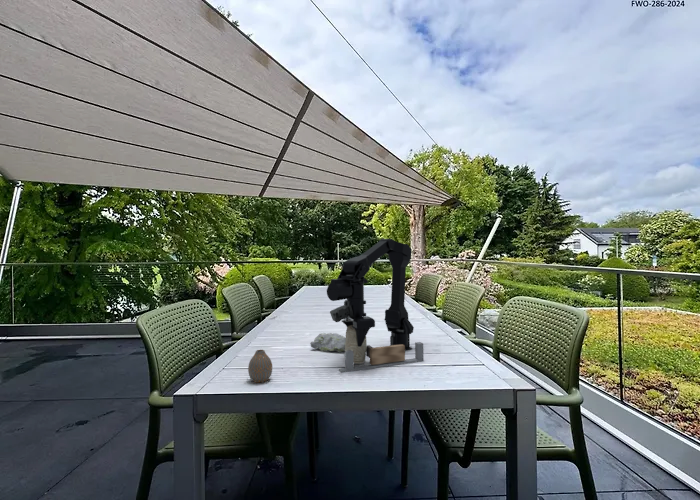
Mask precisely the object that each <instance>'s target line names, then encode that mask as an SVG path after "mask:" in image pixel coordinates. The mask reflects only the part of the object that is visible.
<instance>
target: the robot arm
mask: <svg viewBox="0 0 700 500" xmlns="http://www.w3.org/2000/svg"><path fill="white" fill-rule="evenodd" d="M385 254H386V255H388V260H389V264H390V265H391V267H392V273H391V274H392V275H391V296H390V297H391V299H390V306H389V308H388V309H387V308H386V309H385V310H384V315H385V316H384V319H383V320H384V321H385V325H386V329H387V331H388V332H390V333H391V334H390V336H389V338H390V339H389V343H390V345H389V346H392V345H400V344H403V345H405V351H406V350H407V351H408V350H409V351H410V350H412V349H413V348H412V346H410V343H411V342H410V340H411V339H410V336H411V335H412V333H414V329H415V327H414V325H413V324H412V323H411V321H410V320H409V312H408V310H407V308H406V307H405V294H406V293H405V292H406V273H407V272H406V270H407V266H408V265H409V263H410V262H411V258H412V248H411V247H410V245H409V244H408V243H403V242H400V241H396V240H394V239H392V238H381V239H379V240H378V242H377V243H375V244H374V245H373V246H372V247H370V248H368V250H366V251H364V252H363V253H362V254H361V255H358V256H355V257H350V258H349V259H347V260H346V261H344V262H343V266H342V268H341V270H340V273H339V274H338V276H337V278H332V279H330V283H329V284H328V286H327V289H326V295H327V297H328V299H329V300H330V301H331V302H336V301H341V300H344V301H343V305H340V306H339V307H336V308H334V309H331V310H330V311H329V314H330V317H331V319H332V321H334V322H335V323H339V322H341V323H343V325H345V327H346V328H347V327H348V326H351V325H353V326H351V327H352V328H353V329H354V330H355V331H356V338H357V344H358V347H361V346H362V344H363V341H364V339H365V337H366V338H367V335H368V333H369V331H370V329H372V328H375V327H376V320H375V319H374V318H373V317H370V316H367V313H366V312H365V305H366V304H367V301H366V300H365V294H364V293H365V290H364V289H365V288H364V287H365V285H364V284H368V283H369V280H368V279H366V278H365V276H366V275H367V273H368V272H370V269H371V266H372V265H373V264H374V263H375V262H376V261H378V260H380V258H381V257H382V256H384V255H385Z"/></svg>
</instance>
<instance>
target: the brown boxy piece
mask: <svg viewBox="0 0 700 500" xmlns="http://www.w3.org/2000/svg"><path fill="white" fill-rule="evenodd" d="M366 357H367V358H368V359H369V364H371V365H375V364H383V363H390V362H397V361H405V359H406V350H405V345H403V344H400V345H392V346H390V345H383V346H376V347H373V346H371V345H370V344H368V345H367V350H366Z"/></svg>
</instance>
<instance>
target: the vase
mask: <svg viewBox="0 0 700 500" xmlns="http://www.w3.org/2000/svg"><path fill="white" fill-rule="evenodd" d="M247 370H248V371H247V372H248V376H249V378H250V380H251V381H252V382H254V383H256V384H257V383H261V384H262V383H265V382H267V381H268V380H269V379H270V378H271V376H272V374H273V362H272V359H271V358H270V357H269V355H268V354H267V353H266V351H265V350H264V349H256V350H255V351H254V355H253V356H252V357H251V358H250V360H249V363H248V367H247Z"/></svg>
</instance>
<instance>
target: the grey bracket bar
mask: <svg viewBox="0 0 700 500" xmlns="http://www.w3.org/2000/svg"><path fill="white" fill-rule="evenodd" d="M344 356H345V362H344V363H345V365H344V366H345V367H341V368H338V372H339V373H341V374H342V373H343V374H344V373H351V372H356V371H364V370H365V371H366V370H370V369H371V370H372V369H379V368H385V367H386V368H387V367H394V366H400V365H407V364H413V363H421V362H425V361H424V343H423V342H422V341H416V342H415V343H414V356H415V357H413V358H408V359H406V358H405V361H397V362H390V363H383V364H375V365H371V364H370V363H369V364H362V365H355V363H354V355H353V351H352V350H348V351H345V350H344ZM354 365H355V366H354Z"/></svg>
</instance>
